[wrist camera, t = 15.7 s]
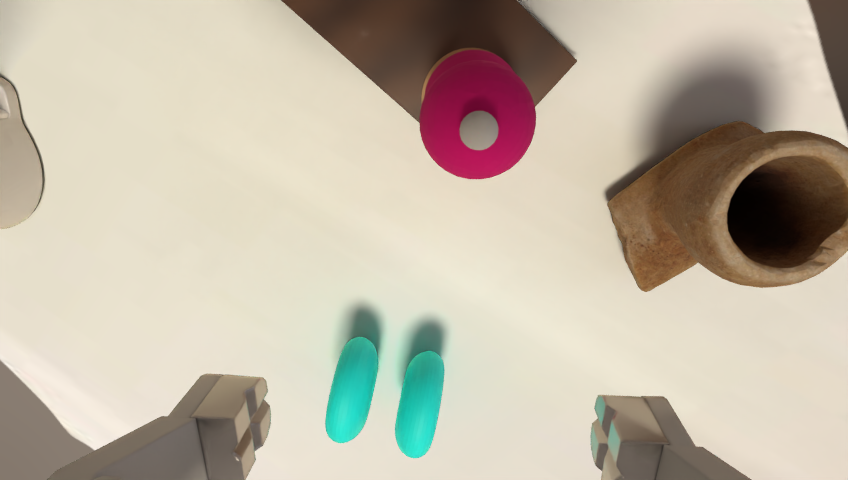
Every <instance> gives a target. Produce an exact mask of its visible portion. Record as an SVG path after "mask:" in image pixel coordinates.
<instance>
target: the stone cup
mask: <svg viewBox="0 0 848 480" xmlns="http://www.w3.org/2000/svg"><path fill="white" fill-rule="evenodd" d="M607 205H608V207H609V210H610V212H611V214H612V220H613V223H614V225H615V227H616V230H617V232H618V237H619V239H620V241H621V242H622V245H623V252H624V257H625V261H626V262H627V264H628V266H629V269H630V271H631V273H632V275H633V276H634V279H635V281H636V283H637V285H638V287H639V288H640V289H641V290H642V291H645V292H647V291H650V290H652V289H653V288H655V287H657V286H659V285H661V284H663V283H665V282H666V281H668V280H670V279H671V278H673V277H675V276H676V275H678V274H680V273H682V272H683V271H685V270H687V269H689V268H690V267H692V266H694V265H695V264H696V263H698V262H699V263H700V264H701V265H702V266H704V267H705V268H707V269H708V270H709V271H711V272H713V273H714V274H716V275H718V276H719V277H721V278H723V279H725V280H728V281H730V282H733V283H736V284H740V285H746V286H753V287H761V288H763V287H778V286H786V285H791V284H795V283H799V282H802V281H804V280H807V279H809V278H811V277H814V276H816V275H818V274H819V273H821V272H822V271H824V270H825V269H827V268H828V267H830V266H831V265H832V264H834V263H835V262H836V261H837V260H838V259H839V258H840V257H841V256H843V255H844V254H845V253H846V252H847V251H848V148H847V147H846V146H844V145H843V144H841V143H839V142H838V141H836V140H833V139H831V138H828V137H825V136H822V135H819V134H815V133H811V132H807V131H775V132H768V133H763V132H762V131H761V130H759V129H757V128H755V127H753V126H751V125H749V124H747V123H745V122H742V121H735V122H732V123H728V124H724V125H721V126H719V127H717V128H714V129H712V130H710V131H708V132H706V133H704V134H702V135H700V136H698V137H696V138H694V139H693V140H691V141H689V142H688V143H686V144H685V145H683V146H682V147H680V148H679V149H677V150H676V151H675V152H673V153H672V154H671V155H669V156H668V157H667V158H665V159H664V160H663V161H661V162H660V163H658V164H657V165H656V166H654V167H653V168H651V169H650V170H649V171H647V172H646V173H645V174H643V175H642V176H641V177H639V178H638V179H637V180H635V181H634V182H633V183H632V184H630V185H629V186H628V187H626V188H625V189H623V190H622V191H621V192H619V193H618V194H617V195H615V196H614V197H613V198H612V199H611V200H610V201H609V202H608V204H607Z"/></svg>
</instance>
